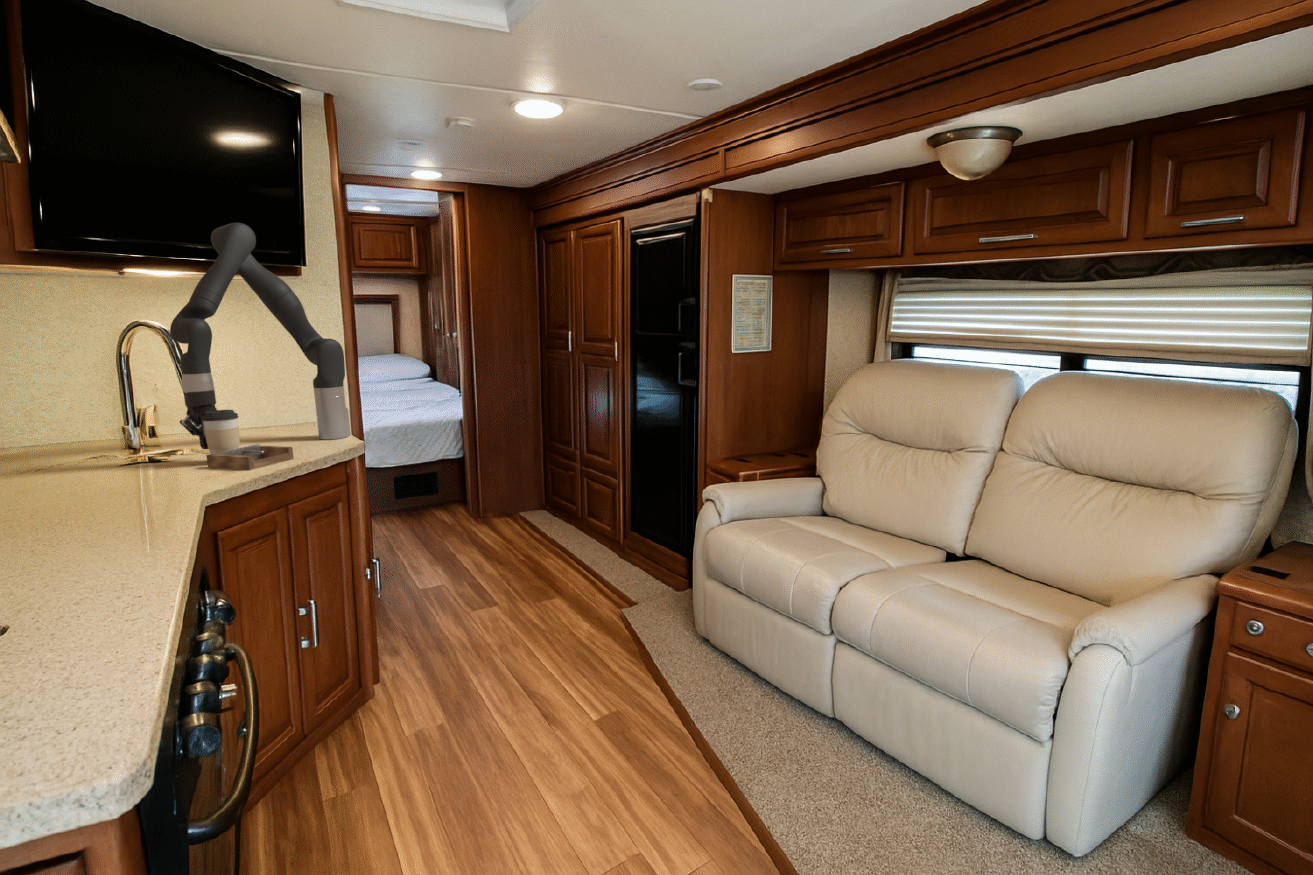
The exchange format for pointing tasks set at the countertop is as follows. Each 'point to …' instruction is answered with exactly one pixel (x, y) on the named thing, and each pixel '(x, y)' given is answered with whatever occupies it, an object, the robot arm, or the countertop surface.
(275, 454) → the wooden tray
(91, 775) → the countertop surface
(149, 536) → the countertop surface
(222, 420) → the coffee cup
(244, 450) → the pusher
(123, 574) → the countertop surface
